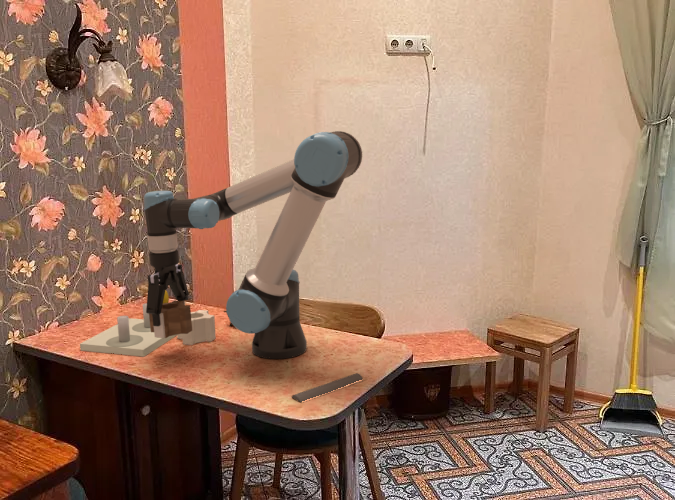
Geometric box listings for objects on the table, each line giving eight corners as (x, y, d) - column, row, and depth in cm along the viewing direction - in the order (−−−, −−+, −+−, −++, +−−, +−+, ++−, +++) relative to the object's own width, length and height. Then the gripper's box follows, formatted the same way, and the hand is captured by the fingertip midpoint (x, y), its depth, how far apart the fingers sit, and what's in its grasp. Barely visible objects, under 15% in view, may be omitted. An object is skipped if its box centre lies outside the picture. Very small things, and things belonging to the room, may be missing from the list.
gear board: (186, 329, 203) (184, 300, 201) (143, 356, 180) (141, 325, 178) (128, 324, 208) (126, 296, 206) (80, 350, 186) (77, 319, 184)
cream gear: (221, 333, 198) (220, 311, 197) (204, 346, 188) (203, 322, 186) (188, 331, 201) (187, 309, 200) (170, 343, 191) (169, 319, 189)
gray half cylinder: (290, 399, 154) (289, 392, 153) (353, 377, 166) (353, 371, 166) (301, 405, 150) (301, 398, 150) (364, 382, 163) (364, 376, 162)
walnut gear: (199, 325, 182) (196, 301, 181) (179, 338, 172) (177, 312, 171) (164, 324, 185) (161, 300, 184) (142, 336, 175) (140, 311, 174)
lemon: (149, 312, 221) (148, 289, 219) (156, 307, 226) (155, 284, 224) (165, 312, 220) (163, 289, 218) (172, 308, 225) (170, 285, 223)
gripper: (173, 241, 186) (180, 316, 191) (125, 259, 164) (134, 343, 169) (197, 241, 184) (203, 317, 188) (152, 259, 162) (161, 345, 167)
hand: (171, 330), depth 179 cm, fingers closed on walnut gear, 11 cm apart
